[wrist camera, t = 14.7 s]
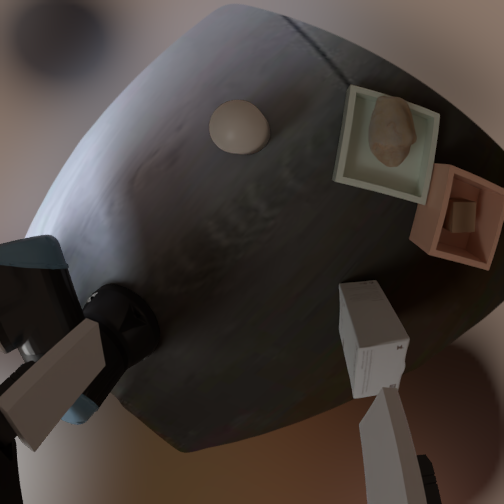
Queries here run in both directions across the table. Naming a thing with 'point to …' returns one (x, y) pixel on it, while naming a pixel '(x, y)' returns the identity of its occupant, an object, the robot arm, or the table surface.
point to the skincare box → (371, 338)
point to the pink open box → (464, 243)
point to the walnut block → (460, 215)
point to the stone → (391, 130)
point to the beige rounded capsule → (239, 128)
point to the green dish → (368, 166)
